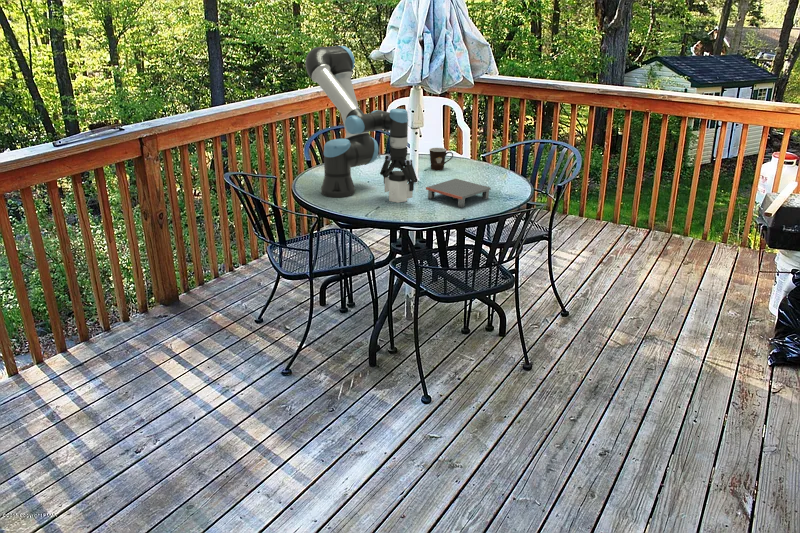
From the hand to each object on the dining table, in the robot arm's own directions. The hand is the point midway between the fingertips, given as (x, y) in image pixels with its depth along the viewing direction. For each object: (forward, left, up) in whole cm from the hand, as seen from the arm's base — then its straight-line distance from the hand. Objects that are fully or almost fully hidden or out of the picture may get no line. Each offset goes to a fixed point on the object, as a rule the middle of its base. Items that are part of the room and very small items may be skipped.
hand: (398, 194), depth 288 cm
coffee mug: (-21, +53, -3) cm, 57 cm away
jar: (0, 0, -3) cm, 3 cm away
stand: (+17, +21, -2) cm, 27 cm away
